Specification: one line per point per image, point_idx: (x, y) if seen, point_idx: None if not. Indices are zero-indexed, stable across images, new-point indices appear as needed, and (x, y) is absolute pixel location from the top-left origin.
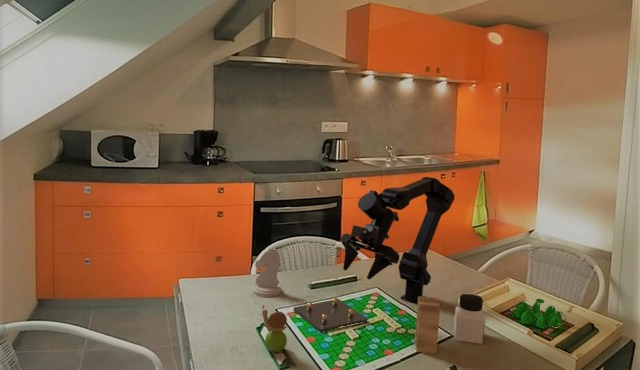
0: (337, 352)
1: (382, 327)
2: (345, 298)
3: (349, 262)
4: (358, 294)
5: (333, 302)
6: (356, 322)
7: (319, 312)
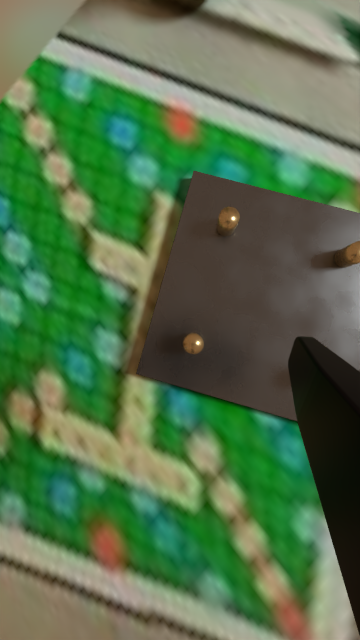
0: (64, 129)
1: (76, 378)
2: None
3: (327, 452)
4: None
5: None
6: (150, 324)
7: (298, 271)
